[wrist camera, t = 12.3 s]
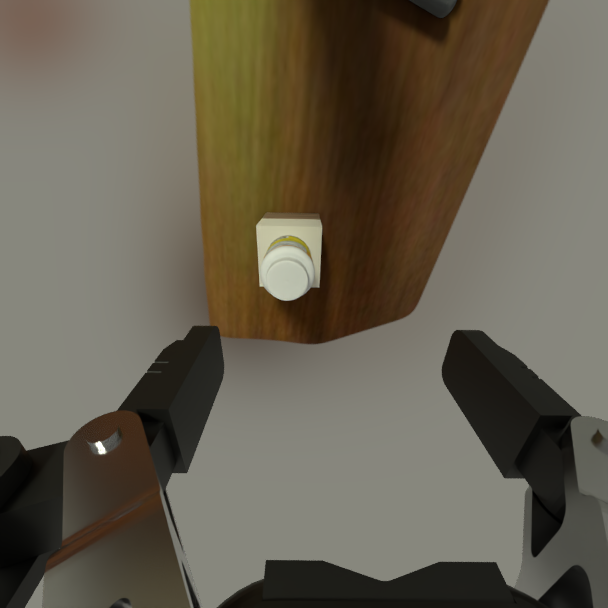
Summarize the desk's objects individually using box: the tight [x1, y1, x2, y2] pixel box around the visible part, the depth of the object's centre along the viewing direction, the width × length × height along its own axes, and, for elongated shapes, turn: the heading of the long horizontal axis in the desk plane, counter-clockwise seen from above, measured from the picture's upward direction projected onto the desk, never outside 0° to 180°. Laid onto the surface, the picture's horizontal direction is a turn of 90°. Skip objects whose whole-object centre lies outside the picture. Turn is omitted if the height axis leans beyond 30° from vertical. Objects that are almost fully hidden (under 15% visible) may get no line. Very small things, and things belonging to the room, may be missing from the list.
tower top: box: [256, 218, 322, 287], centre depth 37 cm, size 8×8×5 cm
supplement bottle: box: [260, 235, 315, 301], centre depth 30 cm, size 6×6×10 cm
